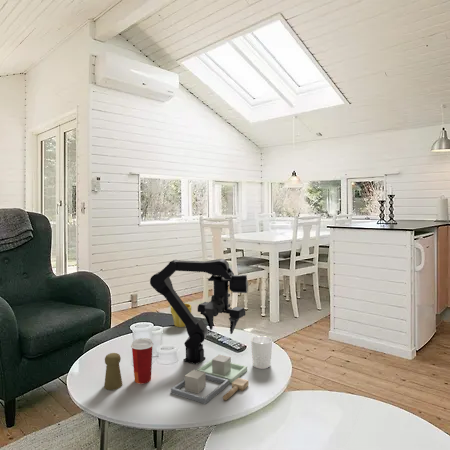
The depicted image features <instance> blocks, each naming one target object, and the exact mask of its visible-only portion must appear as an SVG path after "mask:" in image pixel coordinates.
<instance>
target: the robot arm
mask: <svg viewBox="0 0 450 450" xmlns="http://www.w3.org/2000/svg"><path fill="white" fill-rule="evenodd" d="M176 272H195V273H196V272H197V273H206V274H210V275H211V276H210V277H209V278H208V280H207V281H208V282H213V294H212V295H211V299H210V301H204V302H201V303H199V304H198V305H197V313H199V314H200V315H202V316H203V317H205V320H206V322H207V324H206V323H205V322H204V320H203V318H199V319H197V318H195V317H194V315H193V313H192V311H191V312H190V311H189V310H188V308H187V307H186V305H185V304H184V303H185V302H184V301H183V300H182V299H181V297H180V295H178V293H177V292H176V290H175V289H174V287H173V283H172V280H171V278H170V277H172V275H173V274H175V273H176ZM149 284H150V286H151V287H152V288H153V290H155V291H156V292H157V293H158V294H160V295H162V296H163V297H164V298H165V300H166V301H167V302H168V303H169V305H170V307H171V306H172V308H173V309H174V310H175V312H176V313H177V315H178V316H179V317H180V319H181V320H182V321H183V323H184V324H185V329H186V332H187V335H188V337H187V339H186V340H185V342H184V343H183V344H184V347H185V358H183V362H186V363H191V364H193V365H198V364H200V363H201V362H203V361H204V360H205V359H206V356H205V349H204V344H203V342H204V341H205V339H206V337H207V336H208V333H209V331H208V330H210V331H212V330H213V328H214V317H217V316H218V315H219V314H228V315H229V317H228V320H229V322H230V323H229V334H230V335H232V334H233V333H234V330H235V328H236V325H237V323H238V321H239V320H240V319H241V318H243V317H245V316H246V309H245V308H244V307H240V306H235V307H233V308H231V303H229V298H230V297H231V294H230V293H229V290H230V292H232V293H234V294H236V293H238V294H248V290H249V282H248V276H247V274H241V275H240V274H235V273H234V272H233V271H232V269H231V268H230V264H229V261H227V260H226V259H224V258H219V259H218V258H217V259H212V260H204V261H200V260H178V259H173V260H171V261H169V262H168V264H167V265H166V266H165V267H163V269H161V271H158V272H156V273H154V274H153V275H152V276H151V277H150V279H149ZM208 328H209V329H208Z"/></svg>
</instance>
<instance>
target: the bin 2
mask: <svg viewBox="0 0 450 450" xmlns="http://www.w3.org/2000/svg"><path fill="white" fill-rule="evenodd" d="M196 371H200V372H205V373H206V374H209V375H212V376H216V377H220V378H223V379H227V380H229V384H232V383H233V382H234V381H235V380H236V379H237V378H241V376H243V375H244V374H245V373H246V372H247V371H248V366H247V365H242V364H239V363H235V362H231V371H229V372H228V373H227V374H226V375H225V376H223V375H219V374H215V373H212V359H211V360H209V361H207V362H206V363H204V364H203V365H201V367H199V368H197V369H196Z"/></svg>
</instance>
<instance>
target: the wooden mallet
mask: <svg viewBox="0 0 450 450" xmlns="http://www.w3.org/2000/svg"><path fill="white" fill-rule="evenodd" d="M248 385H249V380H248V379H246V378H245V379H244V378H241V377H239V378H237V379H236V380H235V381H234V382H233V383H231V389H230V390H228V391H227V392H226V393H225V394H224V395H223V396H222V400H223V401H227V400H229V399H230V398H231V397H232V396H233V395H234V394H236V393H237V391H240V392H243V391H244V390H246V388H247V387H249V386H248Z"/></svg>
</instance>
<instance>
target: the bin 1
mask: <svg viewBox="0 0 450 450" xmlns="http://www.w3.org/2000/svg"><path fill="white" fill-rule="evenodd" d="M206 380H208V381H212V382H215V383H218V384H219V386H217V387H216V388H215V389H214V390H212V391H211V392H210V393H209V394H207V395H206V396H205V397H203V396H201V395H198V394H196V393H193V392H190V391H186V390H185V391H184V390H181V389H182V388H183V387H185V378H184V379H183V380H181V381H180V382H179V383H176V384H175V385H174V386H172V387H171V388H170V393H171V394H173V395H177V396H179V397H183V398H185V399H189V400H192V401H195V402H197V403H202V404H204V405H207V404H208V403H209V402H210V401H211V400H212V399H213V398H214V397H216V396H217V395H218V394H219V393H220V392H221V391H223V390H224V389H225V388H226V387H228V386H229V385H230V383H229V380H227V379H223V378H220V377H216V376H212V375H209V374H206Z"/></svg>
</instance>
